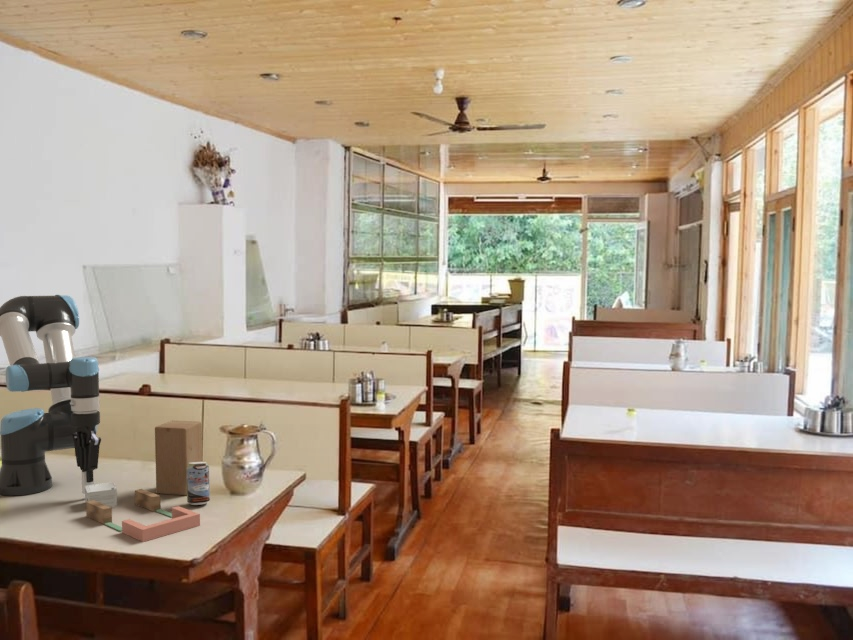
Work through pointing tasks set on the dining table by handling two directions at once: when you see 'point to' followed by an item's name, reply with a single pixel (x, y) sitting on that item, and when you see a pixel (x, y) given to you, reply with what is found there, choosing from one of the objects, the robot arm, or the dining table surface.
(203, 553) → the dining table surface
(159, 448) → the wooden block
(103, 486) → the small box
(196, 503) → the beverage can
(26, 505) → the dining table surface
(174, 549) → the dining table surface
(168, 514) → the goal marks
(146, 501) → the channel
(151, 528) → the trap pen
